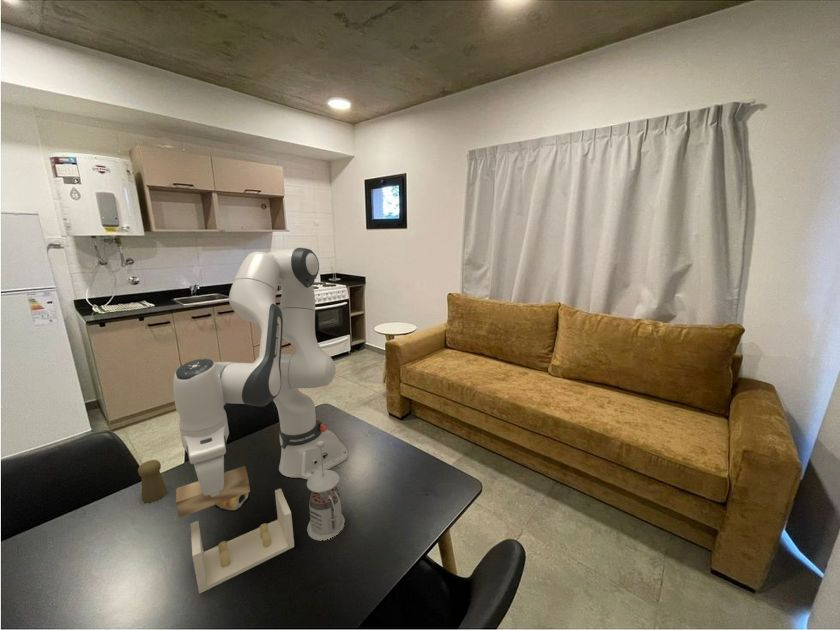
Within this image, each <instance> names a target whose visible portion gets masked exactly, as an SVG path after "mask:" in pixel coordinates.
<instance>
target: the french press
mask: <svg viewBox="0 0 840 630" xmlns="http://www.w3.org/2000/svg"><path fill="white" fill-rule="evenodd" d="M324 446H325V443H324V441H319V442H318V443H317V447H318V448H321V461H322V447H324ZM339 481H340V476H339V474H338V473H337V471H335V470H331V469H328V470H323V461H322V471H319V472H316V473H315V474H313V475H312V476H311V477H310V478H309V479H307V482H306V486H307V489H308V490H310V491H311V492H310V495H309V501H308V507H309V508H308V509H309V517H310V519H309V522H308V524H307V528H306V531H307V534H308V536H309V537H310V538H311V539H313V540H314V541H315V540H316V541H319V542H322V540H323V541H328V540H331V539H333V538H335V537H336V535H339V534H340V533H341V532H342V531H343V530H344V527H345V525H344V523H346V522H345V521H346V518H345V517H344V515H343V514H342V505H341V499H340V498H341V496H340V493H339V489H338V487H337V485H338V483H339ZM341 530H342V531H341ZM340 531H341V532H340ZM339 532H340V533H339ZM334 536H335V537H334ZM332 537H333V538H332ZM330 538H331V539H330ZM327 539H328V540H327Z"/></svg>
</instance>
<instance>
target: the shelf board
mask: <svg viewBox="0 0 840 630" xmlns="http://www.w3.org/2000/svg"><path fill="white" fill-rule="evenodd" d="M175 491H176V492H175V494H176V497H175V504H176V505H175V506H176V508H177V515H178V518H180V519H181V518H182V517H185V516H188V515H191V514H194V513H196V512H199V511H202V510H204V509H207V508H210V507H212V506H217V505H216V504H218V503H221V502H224V501H226V500H229V499H232V498H235V497H237V496H240V495H243V494H245V493H248V494H249V493H250V492H251V489H250V481H249V475H248V471H247V468H246V465H243V466H239V467H237V468H235V469H234V468H233V469H231V470H228V471H224V488H223V490H222V491H220V494H219V495H217V496H214V497H211V496H210V495H208V496H205V495H204V494H203V492H202V490H201V487H200V484H199V481H198V480H197V481H194V482H191V483H188V484H186V485H182V486H180V487H179V486H178V487H177V488H176V490H175Z"/></svg>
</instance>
